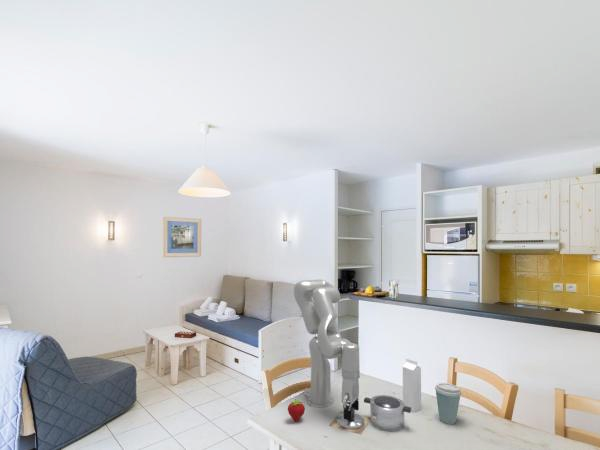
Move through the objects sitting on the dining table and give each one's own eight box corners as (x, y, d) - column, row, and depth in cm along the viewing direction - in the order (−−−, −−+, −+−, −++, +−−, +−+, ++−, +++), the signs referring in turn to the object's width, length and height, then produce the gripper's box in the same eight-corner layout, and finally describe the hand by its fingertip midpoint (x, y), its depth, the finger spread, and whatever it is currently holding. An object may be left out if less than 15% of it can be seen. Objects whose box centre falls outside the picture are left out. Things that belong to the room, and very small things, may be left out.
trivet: (328, 426, 142) (328, 425, 142) (340, 412, 154) (340, 410, 154) (361, 435, 135) (361, 434, 135) (371, 419, 147) (370, 418, 147)
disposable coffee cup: (434, 412, 154) (434, 379, 155) (460, 416, 151) (460, 382, 152) (435, 424, 144) (435, 388, 145) (463, 429, 141) (462, 392, 142)
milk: (413, 412, 154) (413, 363, 156) (402, 407, 159) (402, 359, 160) (421, 408, 158) (421, 360, 159) (410, 403, 163) (410, 357, 164)
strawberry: (305, 425, 143) (305, 401, 143) (287, 425, 142) (287, 401, 143) (304, 418, 148) (304, 394, 149) (287, 418, 148) (287, 394, 149)
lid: (332, 424, 142) (332, 410, 142) (342, 412, 153) (342, 398, 153) (359, 432, 136) (359, 417, 137) (368, 418, 147) (367, 404, 147)
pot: (359, 425, 143) (359, 403, 143) (369, 411, 155) (369, 391, 155) (407, 438, 133) (407, 415, 134) (413, 422, 146) (413, 400, 146)
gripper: (349, 365, 155) (349, 404, 154) (335, 378, 140) (335, 421, 138) (365, 368, 151) (365, 407, 150) (352, 381, 136) (353, 425, 135)
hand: (351, 414), depth 144 cm, fingers open, 9 cm apart
